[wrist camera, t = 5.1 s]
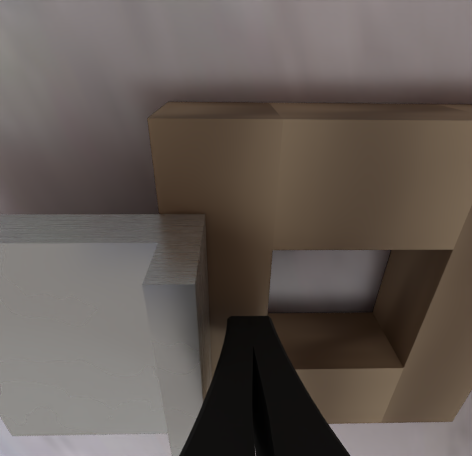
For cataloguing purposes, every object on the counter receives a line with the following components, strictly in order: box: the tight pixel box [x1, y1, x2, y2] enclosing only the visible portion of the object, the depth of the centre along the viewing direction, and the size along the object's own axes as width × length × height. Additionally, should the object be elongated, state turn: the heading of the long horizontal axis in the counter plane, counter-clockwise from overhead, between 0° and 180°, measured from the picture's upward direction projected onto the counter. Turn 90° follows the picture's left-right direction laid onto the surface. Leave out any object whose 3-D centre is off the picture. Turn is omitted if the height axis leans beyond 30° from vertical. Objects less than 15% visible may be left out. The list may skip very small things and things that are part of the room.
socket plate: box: [147, 102, 472, 424], centre depth 12 cm, size 12×13×3 cm
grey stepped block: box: [0, 214, 212, 456], centre depth 9 cm, size 7×8×3 cm
